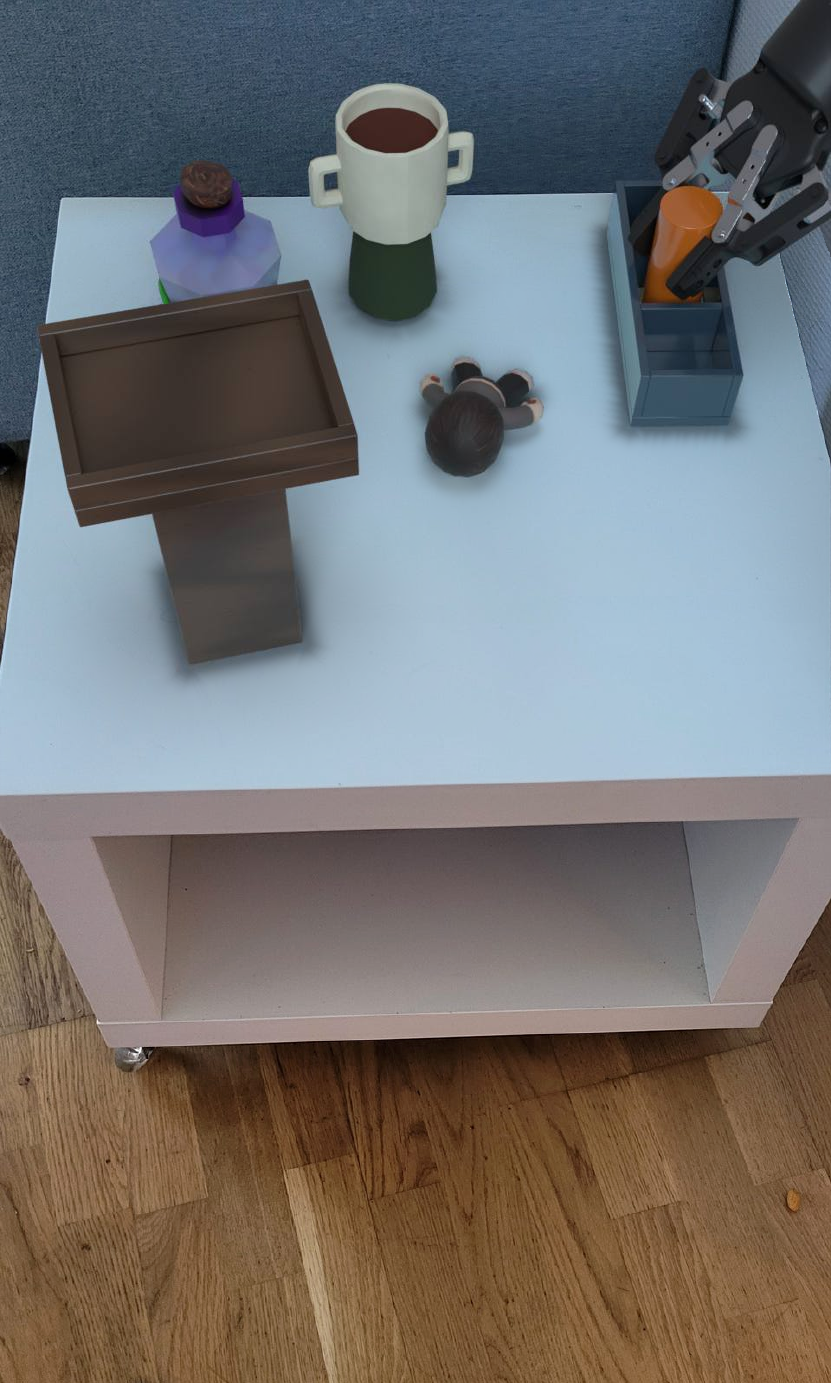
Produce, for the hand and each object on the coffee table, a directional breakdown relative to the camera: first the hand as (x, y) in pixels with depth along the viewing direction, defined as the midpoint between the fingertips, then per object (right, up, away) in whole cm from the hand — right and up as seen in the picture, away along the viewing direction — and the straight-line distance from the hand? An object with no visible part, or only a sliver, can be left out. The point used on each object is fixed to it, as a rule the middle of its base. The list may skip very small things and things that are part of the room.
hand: (655, 270), depth 86 cm
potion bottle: (-29, -3, +4) cm, 29 cm away
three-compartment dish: (+2, -1, +5) cm, 6 cm away
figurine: (-12, -11, +1) cm, 16 cm away
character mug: (-17, +1, +6) cm, 19 cm away
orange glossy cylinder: (+2, -1, +4) cm, 4 cm away
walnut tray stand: (-27, -24, -6) cm, 36 cm away
